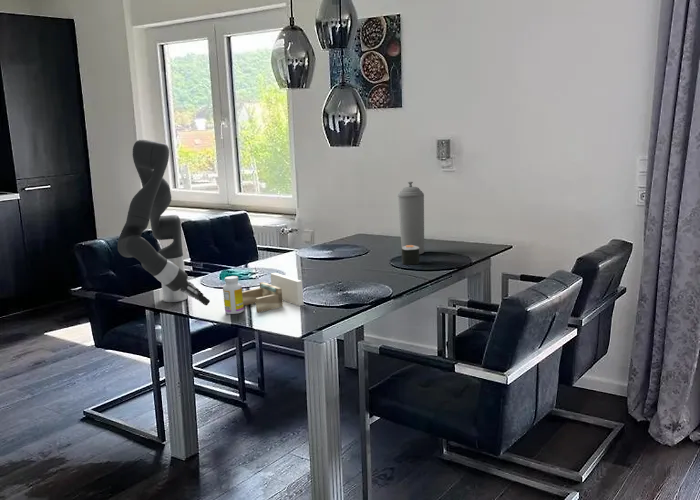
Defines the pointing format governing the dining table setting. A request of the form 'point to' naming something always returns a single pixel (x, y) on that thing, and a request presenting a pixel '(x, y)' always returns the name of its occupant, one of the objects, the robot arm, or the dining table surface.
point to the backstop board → (288, 288)
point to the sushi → (410, 255)
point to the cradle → (264, 297)
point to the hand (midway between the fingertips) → (207, 303)
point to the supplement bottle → (233, 295)
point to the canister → (412, 217)
